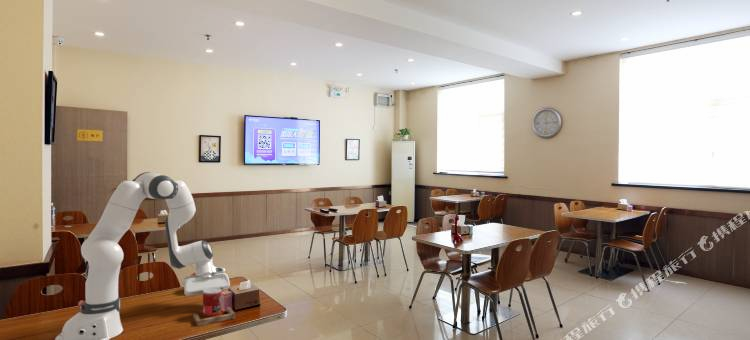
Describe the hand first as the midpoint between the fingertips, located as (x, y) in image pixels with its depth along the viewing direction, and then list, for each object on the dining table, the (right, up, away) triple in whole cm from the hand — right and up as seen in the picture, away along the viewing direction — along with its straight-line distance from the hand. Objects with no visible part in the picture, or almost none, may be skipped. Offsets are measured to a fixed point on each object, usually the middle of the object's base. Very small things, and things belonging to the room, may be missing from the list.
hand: (209, 300), depth 193 cm
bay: (+5, -5, -8) cm, 11 cm away
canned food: (+3, -5, -4) cm, 7 cm away
